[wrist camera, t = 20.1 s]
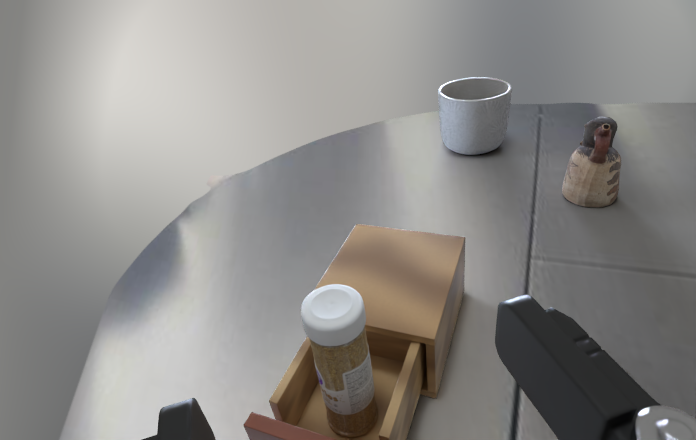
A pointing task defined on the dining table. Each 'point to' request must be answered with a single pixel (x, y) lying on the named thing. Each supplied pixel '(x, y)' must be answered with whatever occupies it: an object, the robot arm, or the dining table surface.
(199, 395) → the dining table surface
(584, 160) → the figurine
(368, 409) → the sprinkles bottle
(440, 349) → the cabinet
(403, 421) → the drawer
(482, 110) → the planter
